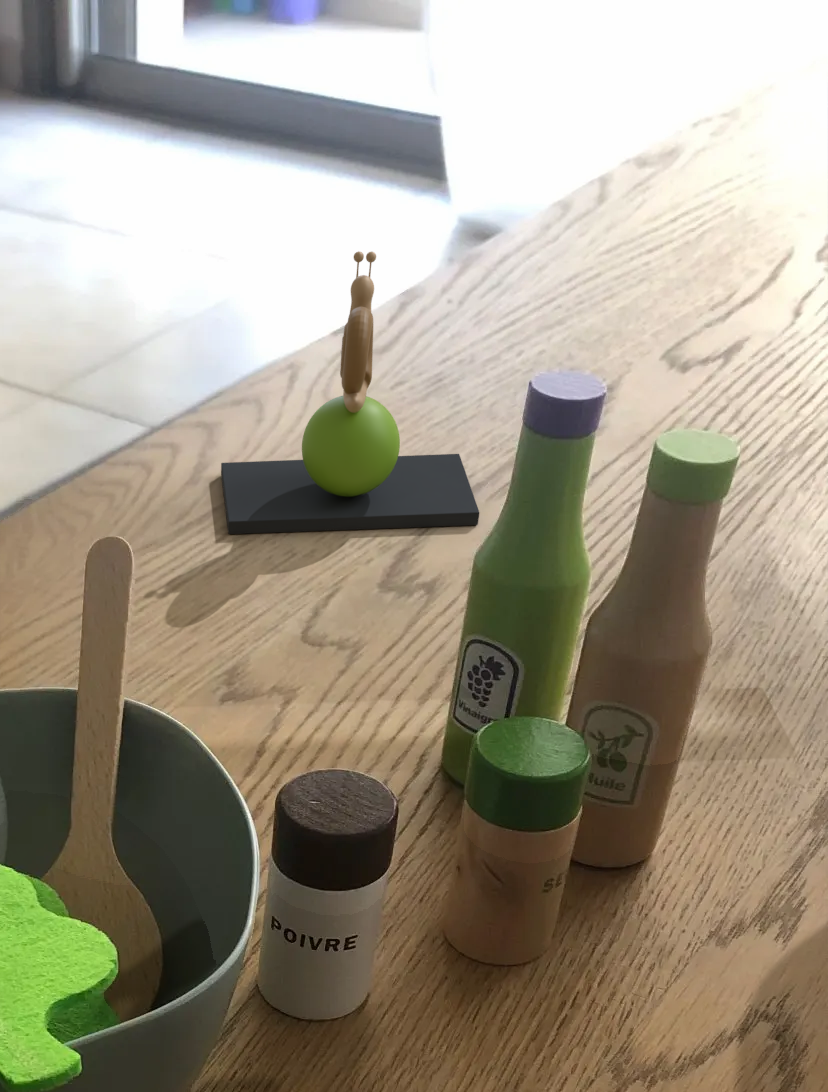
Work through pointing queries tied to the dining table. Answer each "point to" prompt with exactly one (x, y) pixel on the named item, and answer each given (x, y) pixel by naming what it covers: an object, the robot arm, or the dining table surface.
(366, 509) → the mat
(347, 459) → the snail figurine
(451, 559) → the dining table surface
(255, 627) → the dining table surface
